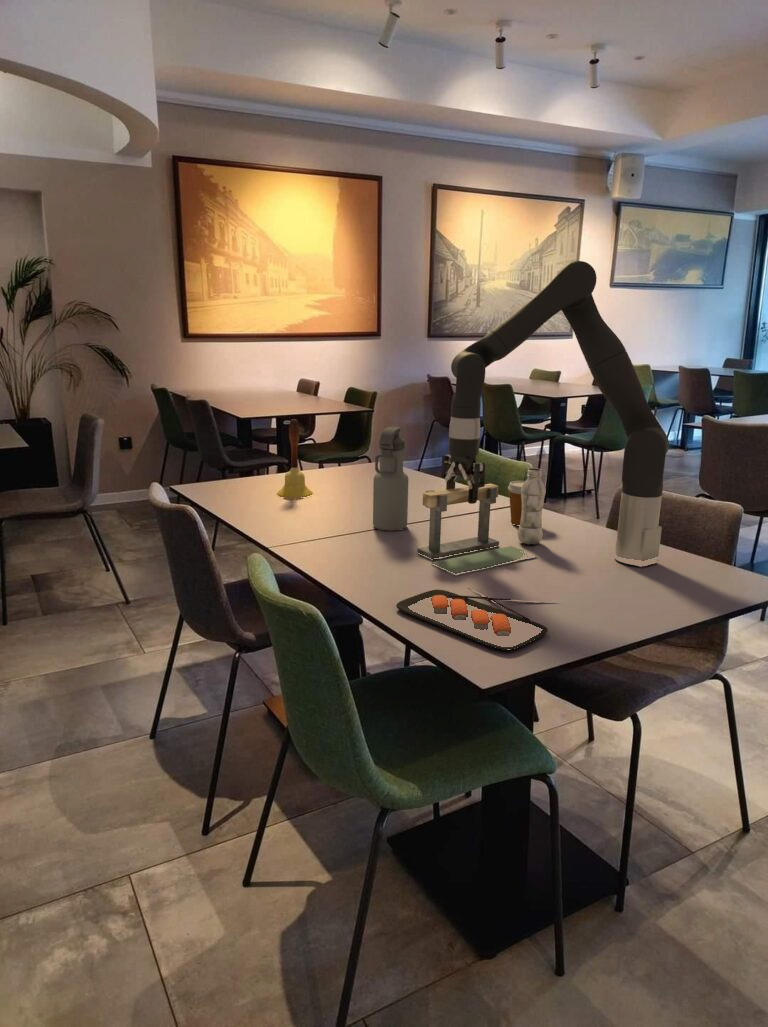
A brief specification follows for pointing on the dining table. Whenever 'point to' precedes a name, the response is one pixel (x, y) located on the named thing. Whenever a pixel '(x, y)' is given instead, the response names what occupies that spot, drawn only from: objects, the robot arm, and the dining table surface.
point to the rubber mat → (481, 559)
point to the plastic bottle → (532, 508)
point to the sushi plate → (478, 616)
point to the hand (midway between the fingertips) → (461, 499)
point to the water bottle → (390, 483)
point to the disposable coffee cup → (515, 501)
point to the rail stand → (462, 545)
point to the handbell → (294, 469)
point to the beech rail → (455, 495)
